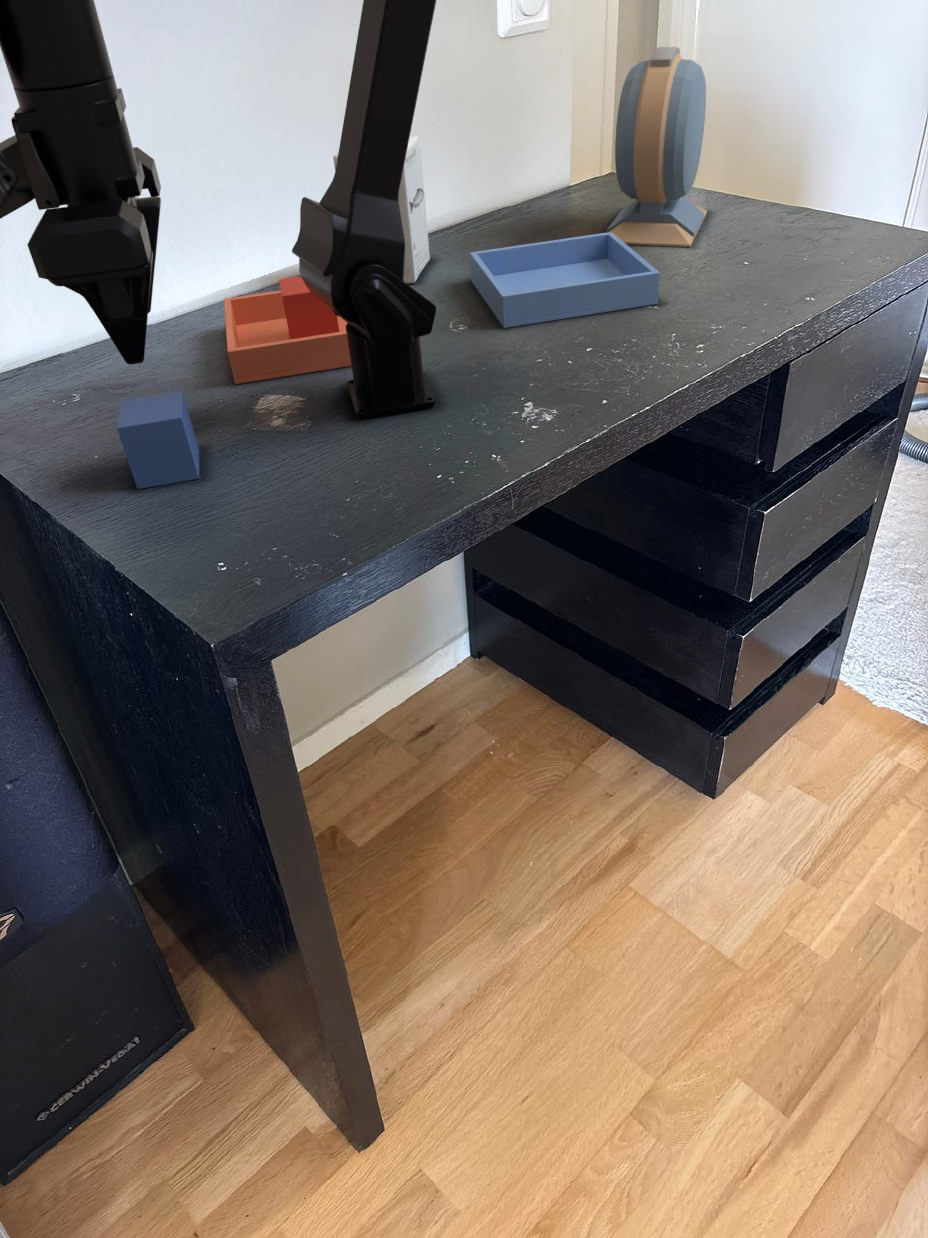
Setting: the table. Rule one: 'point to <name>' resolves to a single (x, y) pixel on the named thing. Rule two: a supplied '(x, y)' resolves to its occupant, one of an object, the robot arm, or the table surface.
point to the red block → (305, 310)
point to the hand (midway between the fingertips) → (139, 336)
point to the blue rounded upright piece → (660, 150)
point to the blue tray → (563, 279)
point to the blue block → (158, 439)
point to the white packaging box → (412, 212)
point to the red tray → (276, 341)
